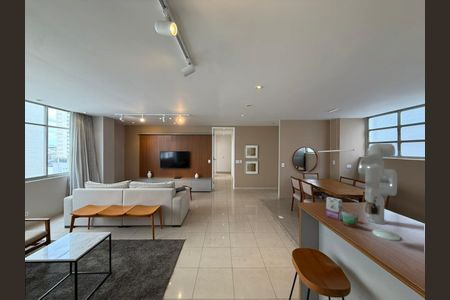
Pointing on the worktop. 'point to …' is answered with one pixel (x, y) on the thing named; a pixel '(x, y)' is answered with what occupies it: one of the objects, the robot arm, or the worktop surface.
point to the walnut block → (368, 208)
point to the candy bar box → (334, 208)
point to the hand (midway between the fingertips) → (372, 211)
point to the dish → (386, 235)
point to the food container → (350, 219)
